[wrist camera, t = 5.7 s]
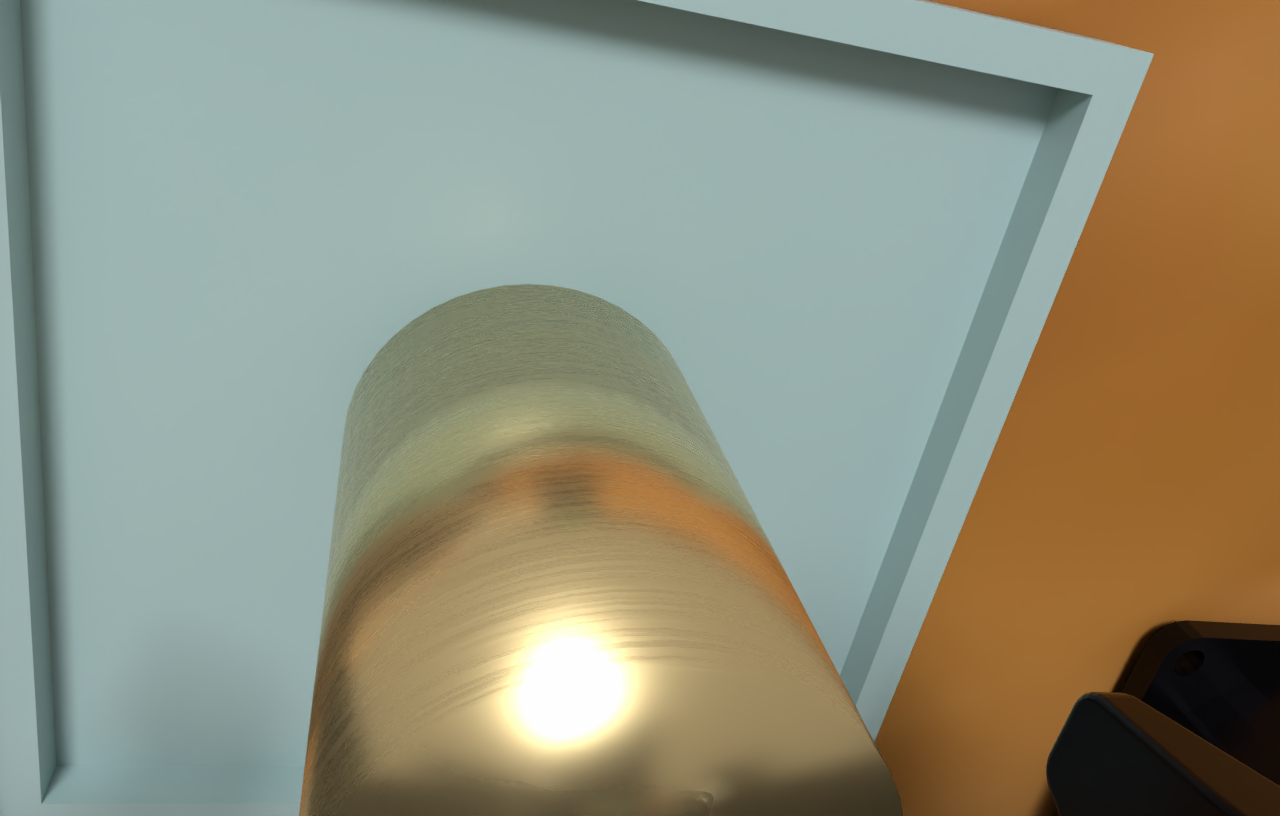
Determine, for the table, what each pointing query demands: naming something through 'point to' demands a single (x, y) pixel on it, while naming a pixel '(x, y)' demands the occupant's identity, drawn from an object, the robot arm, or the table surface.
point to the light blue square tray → (470, 261)
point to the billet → (561, 591)
